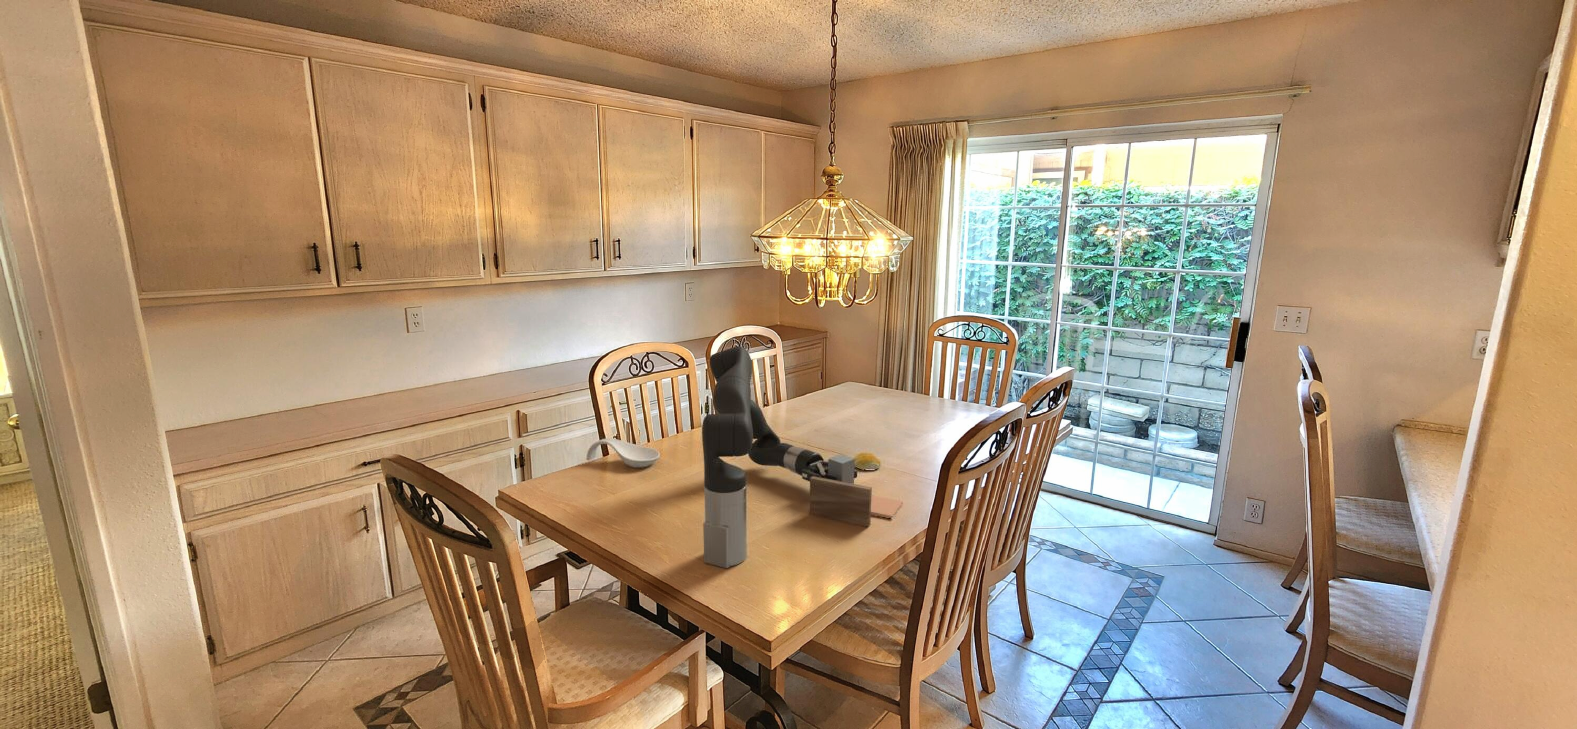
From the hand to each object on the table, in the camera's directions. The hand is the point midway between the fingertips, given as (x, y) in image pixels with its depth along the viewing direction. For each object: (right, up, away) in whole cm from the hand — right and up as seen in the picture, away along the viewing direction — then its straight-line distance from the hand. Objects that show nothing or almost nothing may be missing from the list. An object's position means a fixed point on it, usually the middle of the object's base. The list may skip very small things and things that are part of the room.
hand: (846, 478), depth 172 cm
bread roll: (+9, -2, +28) cm, 30 cm away
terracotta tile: (+8, -8, -2) cm, 11 cm away
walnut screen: (-3, -9, -8) cm, 13 cm away
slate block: (-2, -7, +3) cm, 7 cm away
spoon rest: (-67, -1, +29) cm, 74 cm away
